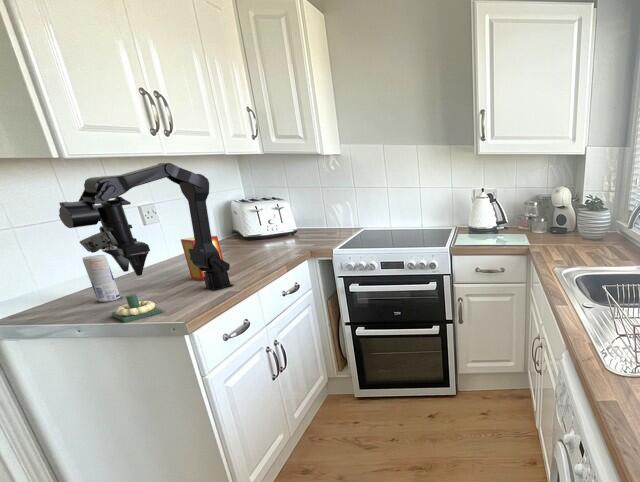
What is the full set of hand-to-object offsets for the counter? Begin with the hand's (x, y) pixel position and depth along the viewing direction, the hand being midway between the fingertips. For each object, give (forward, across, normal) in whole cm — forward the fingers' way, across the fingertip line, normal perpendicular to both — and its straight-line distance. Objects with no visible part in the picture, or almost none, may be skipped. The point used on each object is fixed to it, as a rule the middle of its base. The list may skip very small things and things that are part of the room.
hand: (132, 273), depth 126 cm
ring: (+10, +4, -3) cm, 11 cm away
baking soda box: (+12, -22, +29) cm, 38 cm away
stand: (+12, +4, -3) cm, 13 cm away
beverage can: (+12, -21, -2) cm, 24 cm away
